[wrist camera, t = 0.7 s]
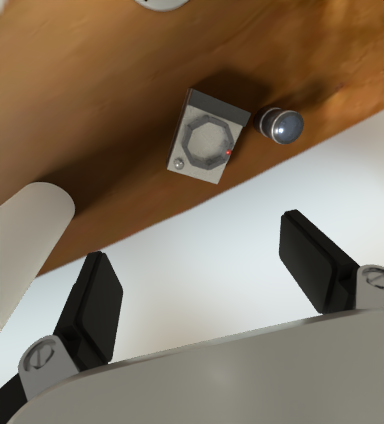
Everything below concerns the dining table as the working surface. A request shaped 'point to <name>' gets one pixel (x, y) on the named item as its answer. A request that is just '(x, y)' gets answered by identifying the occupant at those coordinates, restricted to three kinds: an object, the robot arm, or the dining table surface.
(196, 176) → the grey striped block
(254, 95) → the dining table surface
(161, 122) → the dining table surface
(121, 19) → the dining table surface
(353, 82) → the dining table surface
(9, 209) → the cylinder container
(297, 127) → the lens
